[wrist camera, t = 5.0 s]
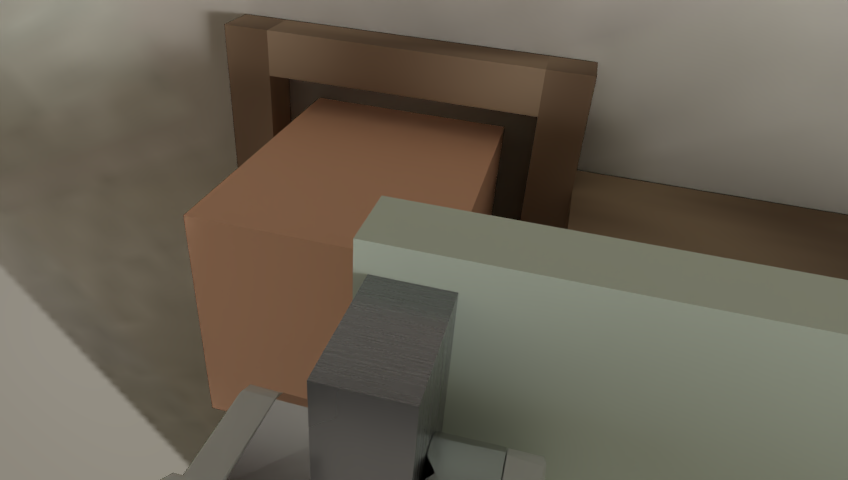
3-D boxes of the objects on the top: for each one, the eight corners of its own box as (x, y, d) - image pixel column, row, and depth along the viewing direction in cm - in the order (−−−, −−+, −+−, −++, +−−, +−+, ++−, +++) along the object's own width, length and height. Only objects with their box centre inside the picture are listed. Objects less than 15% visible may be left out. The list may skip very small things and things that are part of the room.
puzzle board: (1150, 138, 12) (1522, 343, 7) (937, 435, 16) (1076, 692, 11) (245, 14, 15) (67, 96, 10) (267, 292, 19) (149, 444, 14)
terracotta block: (504, 126, 15) (449, 268, 10) (481, 284, 17) (428, 462, 12) (319, 97, 16) (183, 215, 11) (323, 252, 18) (212, 407, 13)
